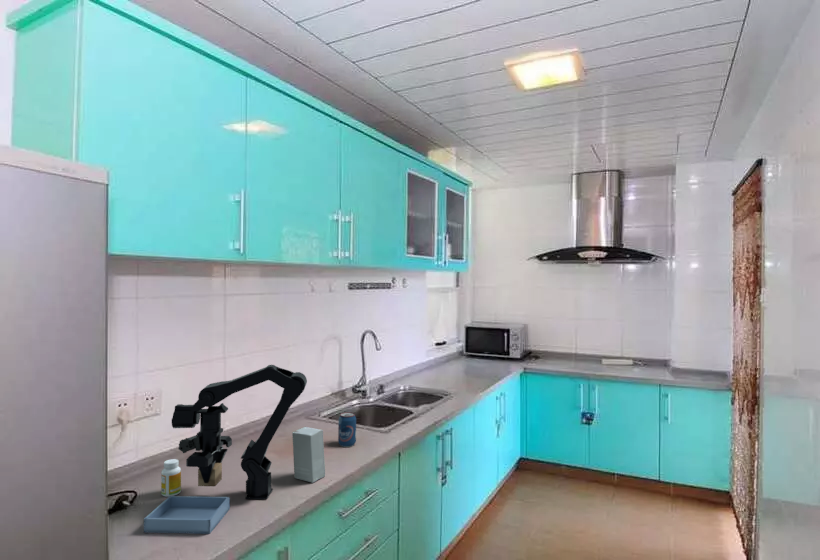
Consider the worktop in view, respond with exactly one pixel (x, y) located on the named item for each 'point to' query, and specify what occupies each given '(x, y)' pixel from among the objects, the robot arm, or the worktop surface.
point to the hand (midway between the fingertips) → (210, 479)
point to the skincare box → (308, 454)
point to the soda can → (347, 429)
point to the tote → (187, 515)
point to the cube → (212, 476)
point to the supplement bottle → (171, 478)
